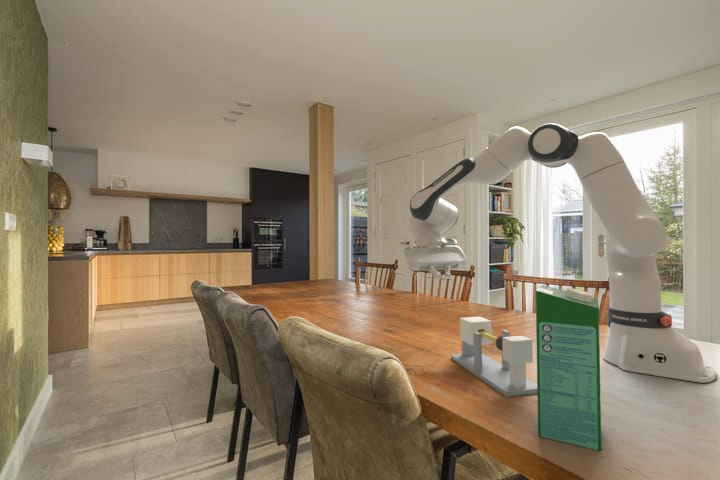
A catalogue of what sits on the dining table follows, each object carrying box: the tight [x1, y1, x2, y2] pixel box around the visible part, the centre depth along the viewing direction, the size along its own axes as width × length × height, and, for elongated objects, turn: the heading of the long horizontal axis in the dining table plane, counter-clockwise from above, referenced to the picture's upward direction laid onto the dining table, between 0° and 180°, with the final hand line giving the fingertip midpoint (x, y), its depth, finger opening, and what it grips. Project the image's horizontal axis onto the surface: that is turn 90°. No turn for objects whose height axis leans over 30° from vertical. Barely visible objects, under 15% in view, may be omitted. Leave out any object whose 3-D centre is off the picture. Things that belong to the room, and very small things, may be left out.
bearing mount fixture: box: [450, 329, 537, 398], centre depth 92 cm, size 26×9×12 cm, turn 12°
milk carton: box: [535, 284, 602, 452], centre depth 64 cm, size 9×9×25 cm
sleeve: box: [459, 315, 493, 346], centre depth 99 cm, size 6×6×6 cm
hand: (443, 277), depth 117 cm, fingers closed
